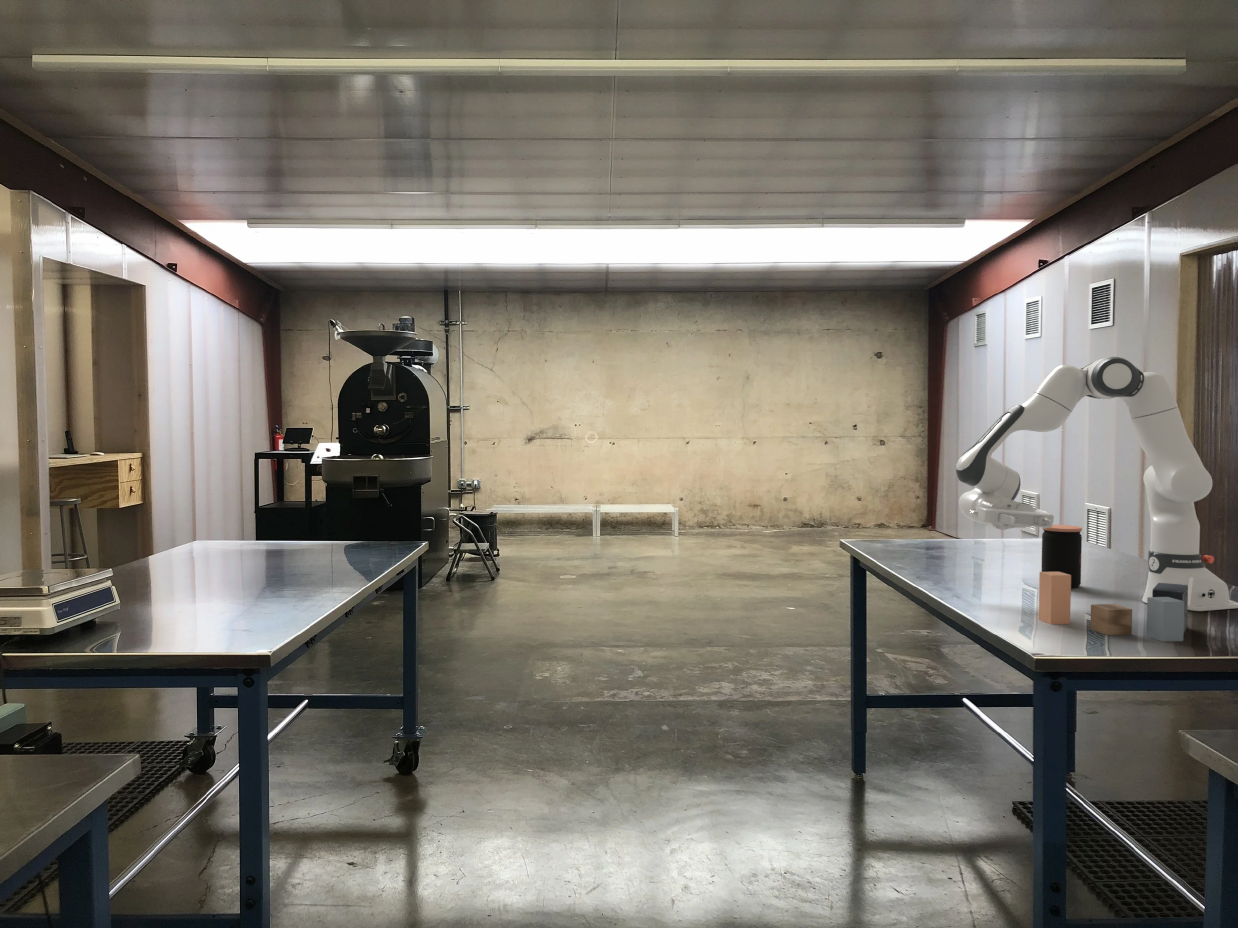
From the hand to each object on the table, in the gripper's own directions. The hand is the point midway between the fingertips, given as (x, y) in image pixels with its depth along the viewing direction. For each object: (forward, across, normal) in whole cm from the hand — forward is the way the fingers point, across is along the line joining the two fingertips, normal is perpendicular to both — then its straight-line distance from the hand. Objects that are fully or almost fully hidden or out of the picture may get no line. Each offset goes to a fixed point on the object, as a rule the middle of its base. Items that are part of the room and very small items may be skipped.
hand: (1032, 522), depth 216 cm
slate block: (+32, +14, +20) cm, 40 cm away
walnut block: (+24, +7, +21) cm, 33 cm away
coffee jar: (-29, +34, +23) cm, 50 cm away
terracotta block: (+13, +1, +22) cm, 26 cm away
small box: (+25, +22, +20) cm, 39 cm away
